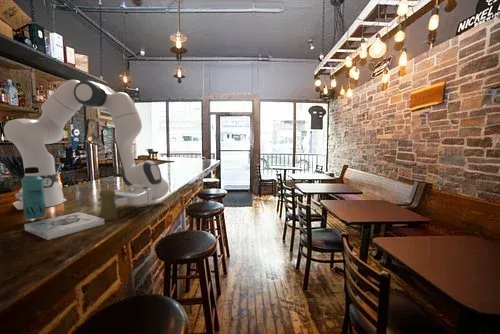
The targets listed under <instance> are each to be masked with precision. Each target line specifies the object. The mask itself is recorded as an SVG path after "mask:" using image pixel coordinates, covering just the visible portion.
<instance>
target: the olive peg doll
mask: <svg viewBox="0 0 500 334" xmlns="http://www.w3.org/2000/svg"><path fill="white" fill-rule="evenodd" d="M114 190H115V189H113V188H106V189H102V190H100V191H99V197H101V198H102V202H100V206H101V207H100V218H104V221H110V220H113V219H117V218H118V217H119V215H118V212H117V211H118V210H117V205H115V204H114V196H115V191H114Z"/></svg>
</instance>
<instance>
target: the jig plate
mask: <svg viewBox="0 0 500 334" xmlns="http://www.w3.org/2000/svg"><path fill="white" fill-rule="evenodd" d="M103 225H105V220H104V218H100V217H99V216H96V215H91V214H88V213H83V212H80V211H78V212H74V213H70V214H65V215H61V216H60V215H59V216H55V217H52V218H47V219H43V220H37V221H35V222H30V223H29V222H27V223H24V231H25V232H28V233H30V234H33V235H36V236H38V237H40V238H43V239H45V240H47V241H51V240H53V239H57V238H60V237H64V236H66V235H67V236H68V235H71V234H74V233H75V234H76V233H77V232H78V233H79V232H82V231H85V230H89V229H92V228H96V227H99V226H103Z"/></svg>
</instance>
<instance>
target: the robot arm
mask: <svg viewBox="0 0 500 334" xmlns="http://www.w3.org/2000/svg"><path fill="white" fill-rule="evenodd" d="M130 96H131V95H129V94H127V93H126V92H122V91H116V90H115V89H114V88H112V87H110V86H107V85H105V84H103V83H99V82H95V81H92V80H81V81H80V80H77V79H69V80H67V81H66V82H64V83H63V84H61V85H60V86H58V87H57V88H56V89H55V90H54V91H53V92H52V93H51V94H50V95H49V97H47V98H46V100H45V101H44V102H43V103H42V104H41V106H40V109H41V112H42V113H41V115H40V117H38V118H36V119H35V118H34V119H33V118H16V119H11V120H9V121H7V122H6V123H5V125H4V127H3V133H4V136H5V138H6V139H7V140H8V141H9V142H11V143H12V144H13V145H14V146H15V147H16V148H17V150H18V152H19V154H20V156H21V159H22V164H23V170H24V171H23V173H24V172H25V168H28V167H38V169H39V173H31V174H25V173H24V175H23V178H24V177H29V176H40V177H42V178H43V186H44V191H45V192H44V196H45V208H48V207H53V206H58V205H60V204H63V203H64V202H67V198H64V194H63V187H62V185H61V184H60V183H58V175H57V172H56V164H55V157H54V156H53V155H52V154H51V153H50V152H49V151H48V150H47V148H46V145H50V144H55V143H57V142H60V141H62V140H63V139H64V136H65V131H64V129H65V126H66V124H67V123H68V122H69V121H70V119H71V118H72V117H73V116H74V115H75V114H76V113H77V112H78V111H79V110H80V109H81V108H82V107H83V106H85V107H88V108H92V109H95V110H105V111H107V112H109V114H110V116H111V120H112V122H113V125H114V132H115V139H114V141H115V146H116V150H117V155H118V159H119V163H120V166H121V178H122V181H123V183H124V185H126V186H127V188H126V189H113V190H114V191H115V196H114V204H115V205H116V206H117V205H129V206H141V205H152V204H153V203H152V202H153V201H156V200H159V199H161V198H164V197H165V196H167V194H168V193H169V190H170V188H169V184H168V182H167V181H166V180H165V179H164V178H163V176H162V172H161V169H160V167H159V165H158V164H157V162H155V161H153V160H145V161H143V162H140V163H138V164H137V163H136V162H135V158H134V157H135V156H134V154H133V151H132V148H133V147H132V146H133V143H134V141H135V139H136V138H137V136H138V135H140V133H141V131H142V129H143V126H142V125H143V124H142V120H141V117H140V114H139V111H138V109H137V108H136V106H135V104H134V102H133V99H132V98H131V97H130ZM22 195H23V194H22V187H21V188H20V190H19V191H18V193H15V199H19V200H17V201H15V202H13V203H12V204H13V206H14V207H15V209H16V210H23V202H22V201H23V196H22ZM97 202H99V203H101V202H102V198H101V197H100V196H99V197H97Z"/></svg>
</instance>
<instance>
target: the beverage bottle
mask: <svg viewBox="0 0 500 334" xmlns="http://www.w3.org/2000/svg"><path fill="white" fill-rule="evenodd" d="M23 173H24V175H25V174H31V173H39V169H38V167H28V168H25V172H24V171H23ZM20 181H21V188H22V194H23V195H22V196H23V201H22V202H23V209H22V211H23V217H24V219H25V220H34V219H35V220H37V219H40V218H44V217H45V216H47V215H46V214H47V207H45V196H44V192H45V191H44V186H43V178H42V177H40V176H29V177H24V176H23V178H22V179H21V180H20Z"/></svg>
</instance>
